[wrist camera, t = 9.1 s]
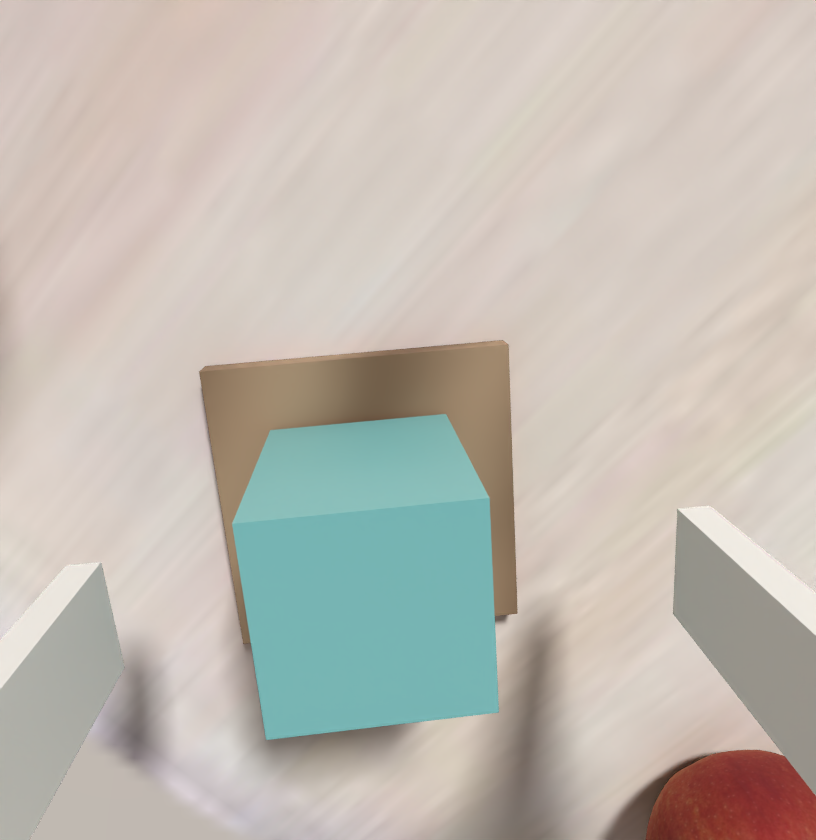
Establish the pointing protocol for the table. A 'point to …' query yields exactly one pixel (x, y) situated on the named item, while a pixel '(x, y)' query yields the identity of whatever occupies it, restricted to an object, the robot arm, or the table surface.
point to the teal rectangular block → (367, 577)
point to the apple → (735, 800)
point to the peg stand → (368, 401)
